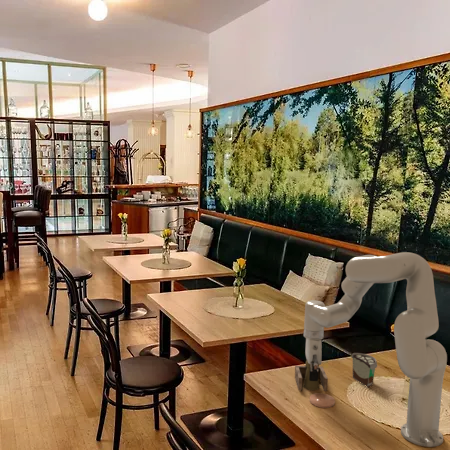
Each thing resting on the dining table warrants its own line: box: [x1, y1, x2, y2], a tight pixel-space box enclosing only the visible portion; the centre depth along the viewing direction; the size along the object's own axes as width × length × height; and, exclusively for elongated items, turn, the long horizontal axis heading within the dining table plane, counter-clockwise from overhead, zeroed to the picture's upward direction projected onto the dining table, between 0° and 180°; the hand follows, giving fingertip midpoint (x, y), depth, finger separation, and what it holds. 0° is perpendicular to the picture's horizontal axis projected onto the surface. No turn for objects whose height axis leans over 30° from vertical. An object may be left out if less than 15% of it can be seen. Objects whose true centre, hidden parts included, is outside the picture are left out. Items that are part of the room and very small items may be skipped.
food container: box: [351, 352, 378, 388], centre depth 191 cm, size 12×6×10 cm, turn 22°
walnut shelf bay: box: [294, 365, 329, 392], centre depth 188 cm, size 11×11×5 cm
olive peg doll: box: [303, 359, 320, 391], centre depth 186 cm, size 6×6×11 cm
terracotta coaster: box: [309, 392, 336, 409], centre depth 174 cm, size 9×9×1 cm
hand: (311, 375), depth 186 cm, fingers open, 9 cm apart
